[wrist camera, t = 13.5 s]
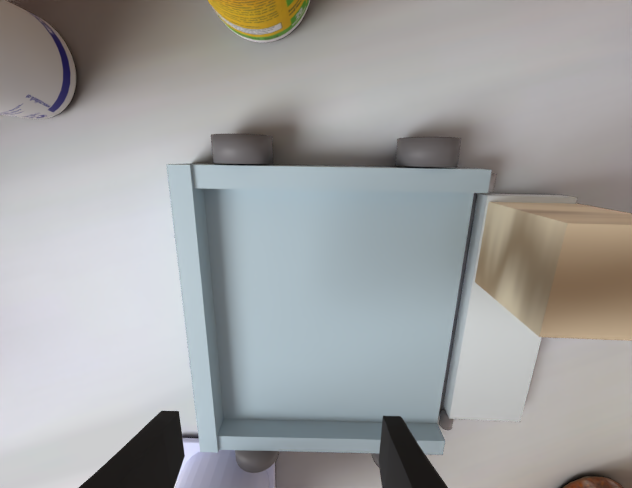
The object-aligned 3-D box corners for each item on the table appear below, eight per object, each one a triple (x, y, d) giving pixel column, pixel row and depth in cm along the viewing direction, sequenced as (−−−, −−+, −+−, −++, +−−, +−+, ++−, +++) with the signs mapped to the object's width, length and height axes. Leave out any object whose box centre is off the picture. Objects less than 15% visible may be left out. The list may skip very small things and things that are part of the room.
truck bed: (444, 436, 24) (463, 477, 21) (216, 431, 24) (201, 471, 21) (494, 142, 18) (531, 138, 14) (188, 137, 18) (160, 132, 15)
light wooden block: (557, 284, 18) (660, 341, 13) (474, 281, 19) (539, 337, 13) (578, 203, 17) (704, 226, 11) (488, 201, 17) (567, 223, 12)
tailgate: (441, 402, 23) (508, 405, 23) (449, 418, 22) (520, 422, 21) (475, 192, 19) (557, 194, 18) (487, 195, 17) (577, 197, 17)
